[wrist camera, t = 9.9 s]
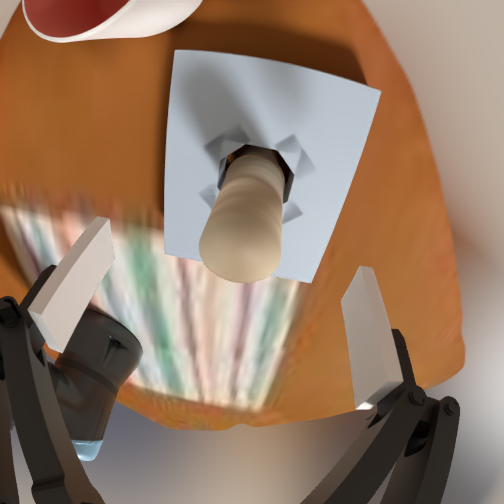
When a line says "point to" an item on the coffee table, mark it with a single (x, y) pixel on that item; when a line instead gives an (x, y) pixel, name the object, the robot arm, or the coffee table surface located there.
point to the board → (263, 135)
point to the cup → (104, 18)
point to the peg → (246, 219)
